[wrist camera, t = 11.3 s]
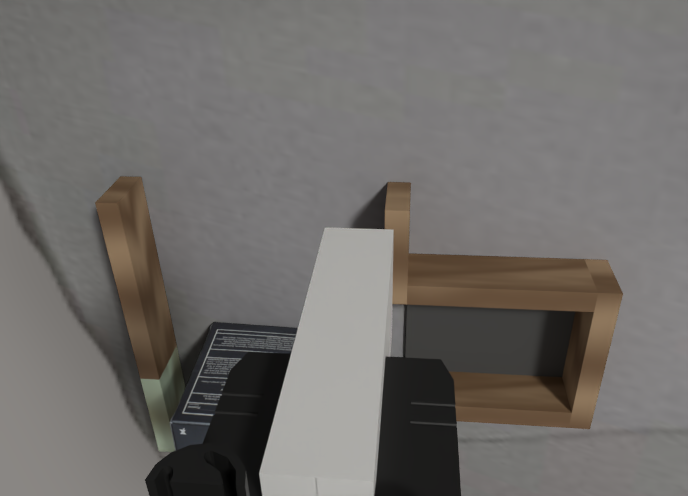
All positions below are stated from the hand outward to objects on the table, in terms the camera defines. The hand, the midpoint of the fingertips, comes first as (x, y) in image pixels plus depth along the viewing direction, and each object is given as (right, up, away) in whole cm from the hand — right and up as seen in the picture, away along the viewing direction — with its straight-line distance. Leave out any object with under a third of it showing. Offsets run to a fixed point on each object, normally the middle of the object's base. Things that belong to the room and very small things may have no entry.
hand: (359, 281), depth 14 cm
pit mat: (+10, -5, +33) cm, 35 cm away
